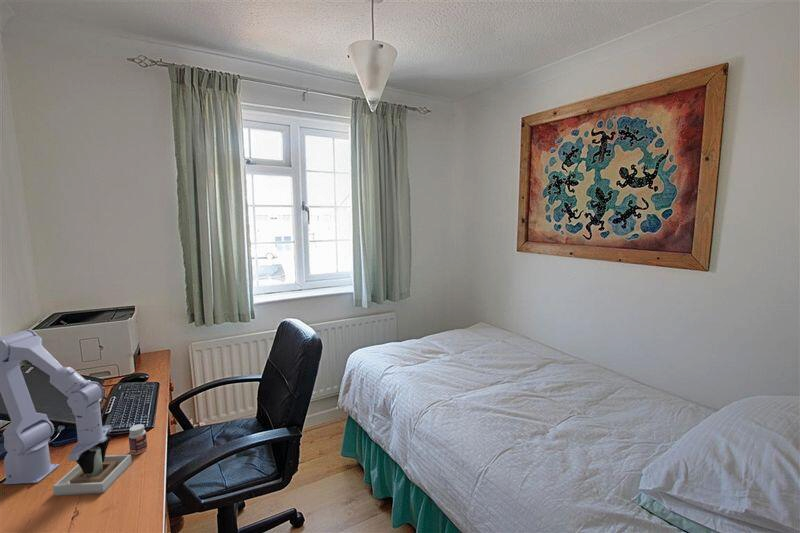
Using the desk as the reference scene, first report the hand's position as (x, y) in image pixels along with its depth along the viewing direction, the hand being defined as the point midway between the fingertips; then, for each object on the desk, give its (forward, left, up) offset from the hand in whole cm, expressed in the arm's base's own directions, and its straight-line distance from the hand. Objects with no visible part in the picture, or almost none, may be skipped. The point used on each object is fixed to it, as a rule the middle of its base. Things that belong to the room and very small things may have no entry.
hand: (94, 467), depth 112 cm
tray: (0, 0, -3) cm, 3 cm away
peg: (0, 0, -2) cm, 3 cm away
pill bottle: (+5, +13, -4) cm, 14 cm away
